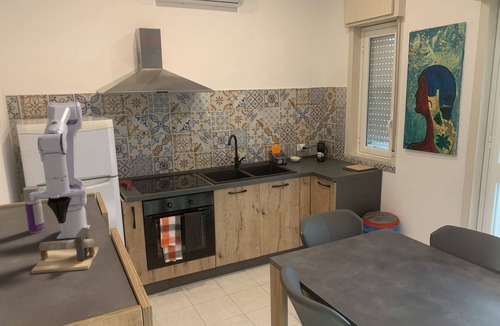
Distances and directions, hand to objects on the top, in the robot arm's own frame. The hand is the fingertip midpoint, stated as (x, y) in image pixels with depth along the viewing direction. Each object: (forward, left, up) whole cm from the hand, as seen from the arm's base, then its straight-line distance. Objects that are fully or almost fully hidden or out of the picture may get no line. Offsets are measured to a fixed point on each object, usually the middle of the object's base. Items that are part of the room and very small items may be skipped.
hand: (62, 222), depth 106 cm
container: (-19, -15, -10) cm, 26 cm away
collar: (+5, +6, -8) cm, 12 cm away
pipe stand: (+5, +2, -9) cm, 11 cm away
